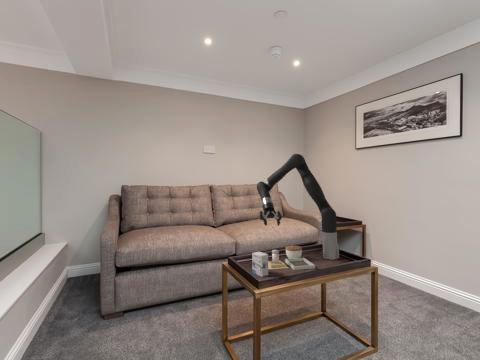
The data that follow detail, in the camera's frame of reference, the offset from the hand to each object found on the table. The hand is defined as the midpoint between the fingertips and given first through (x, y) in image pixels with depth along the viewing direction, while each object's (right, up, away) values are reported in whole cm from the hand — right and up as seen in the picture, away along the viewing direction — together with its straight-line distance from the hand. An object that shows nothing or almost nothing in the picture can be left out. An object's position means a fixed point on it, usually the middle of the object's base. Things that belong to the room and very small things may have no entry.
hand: (272, 224), depth 161 cm
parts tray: (+15, -23, -11) cm, 29 cm away
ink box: (-10, -23, -25) cm, 35 cm away
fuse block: (0, -23, -11) cm, 26 cm away
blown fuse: (0, -22, -11) cm, 25 cm away
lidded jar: (+15, -24, +4) cm, 28 cm away
